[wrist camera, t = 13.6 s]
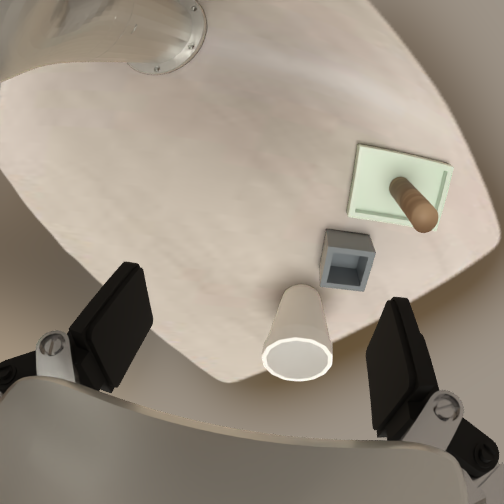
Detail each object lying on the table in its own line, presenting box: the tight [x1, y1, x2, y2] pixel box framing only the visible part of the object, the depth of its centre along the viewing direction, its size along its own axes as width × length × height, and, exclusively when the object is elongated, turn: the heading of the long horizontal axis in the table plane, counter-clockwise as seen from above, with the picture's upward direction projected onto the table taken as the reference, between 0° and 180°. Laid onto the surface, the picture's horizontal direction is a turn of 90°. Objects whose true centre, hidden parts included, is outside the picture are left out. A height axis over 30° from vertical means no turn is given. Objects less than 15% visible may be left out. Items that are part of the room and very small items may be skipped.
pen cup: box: [319, 229, 376, 292], centre depth 41 cm, size 6×6×5 cm
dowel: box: [389, 177, 438, 233], centre depth 32 cm, size 3×3×10 cm
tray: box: [346, 144, 454, 231], centre depth 36 cm, size 14×10×2 cm
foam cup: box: [262, 284, 332, 381], centre depth 43 cm, size 10×9×13 cm
